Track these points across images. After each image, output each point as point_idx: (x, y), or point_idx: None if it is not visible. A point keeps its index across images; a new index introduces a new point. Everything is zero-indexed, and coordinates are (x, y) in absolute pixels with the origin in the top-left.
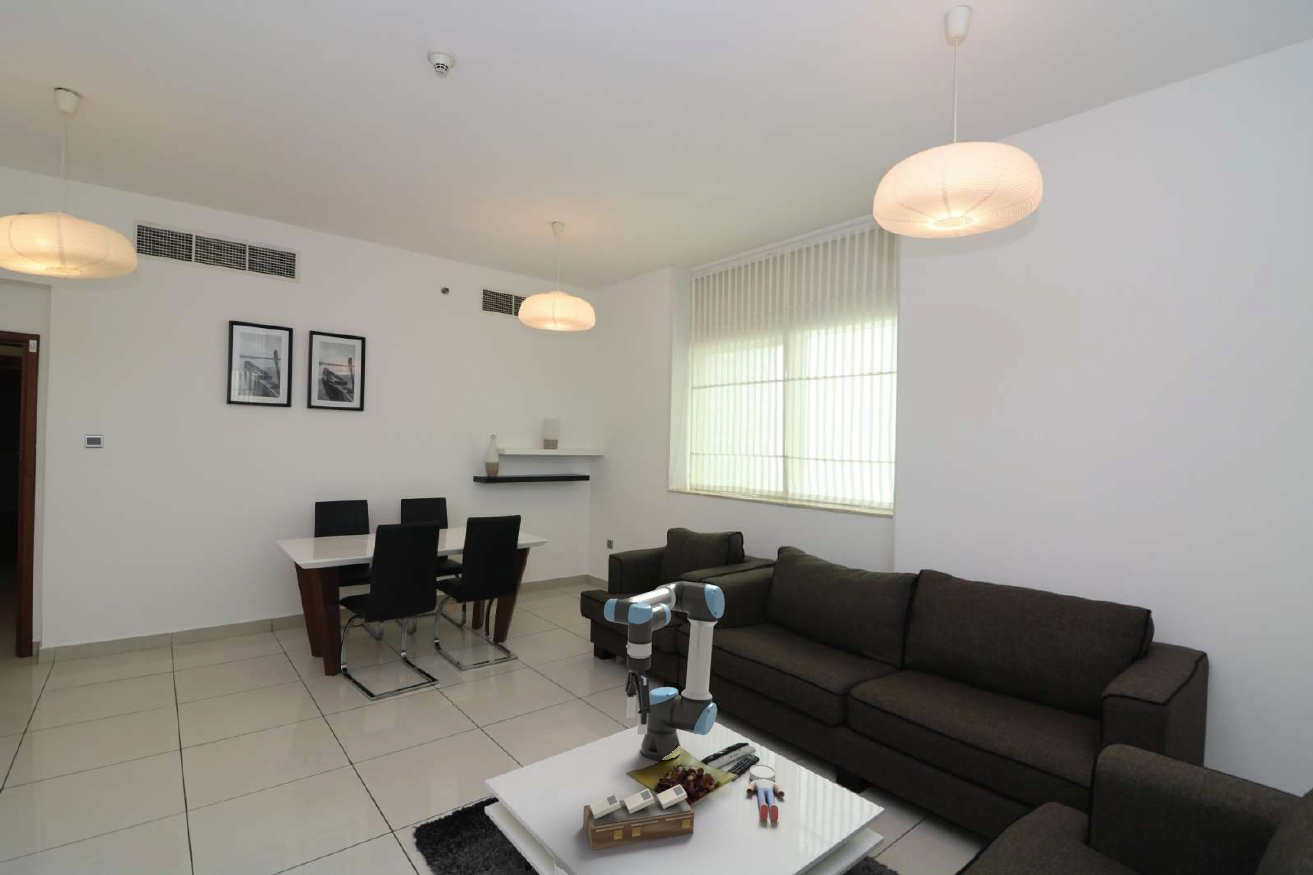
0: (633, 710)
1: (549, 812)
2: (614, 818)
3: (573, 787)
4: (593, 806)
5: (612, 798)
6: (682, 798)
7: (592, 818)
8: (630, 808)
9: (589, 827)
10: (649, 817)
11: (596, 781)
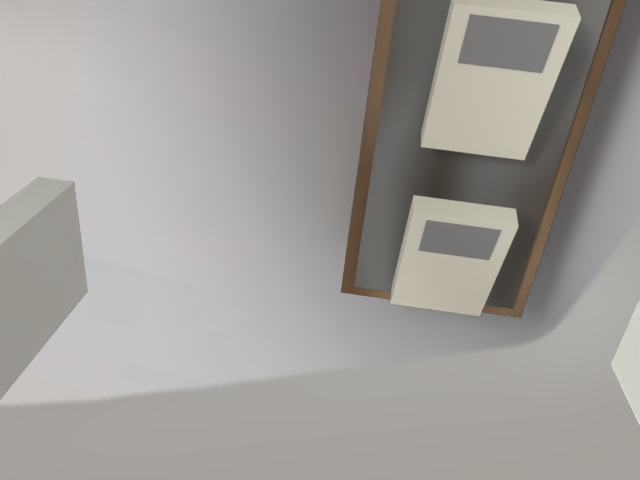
0: (15, 268)
1: (217, 319)
2: None
3: None
4: (420, 299)
5: (448, 236)
6: None
7: None
8: (525, 151)
9: None
10: (593, 49)
11: (13, 78)
